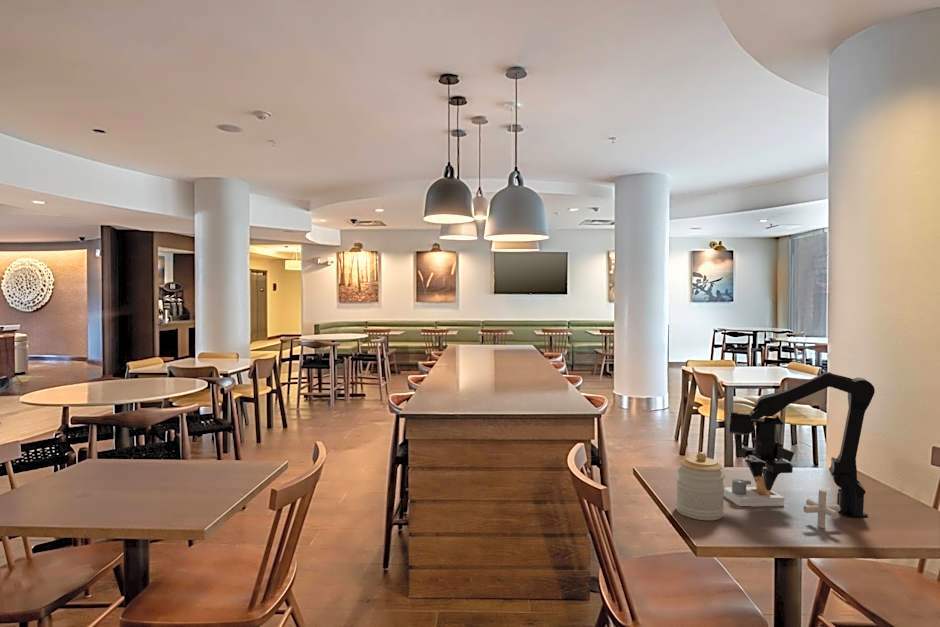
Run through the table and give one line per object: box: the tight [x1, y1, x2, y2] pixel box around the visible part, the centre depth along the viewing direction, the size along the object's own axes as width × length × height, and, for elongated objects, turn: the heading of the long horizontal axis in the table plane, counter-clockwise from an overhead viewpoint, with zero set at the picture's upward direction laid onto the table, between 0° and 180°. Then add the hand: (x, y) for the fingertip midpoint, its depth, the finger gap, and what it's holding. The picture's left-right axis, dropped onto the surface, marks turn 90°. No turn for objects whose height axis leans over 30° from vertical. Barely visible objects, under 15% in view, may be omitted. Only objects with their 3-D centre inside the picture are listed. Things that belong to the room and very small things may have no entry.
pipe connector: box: [802, 489, 840, 529], centre depth 165 cm, size 10×10×10 cm
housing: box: [724, 478, 785, 507], centre depth 185 cm, size 10×14×6 cm
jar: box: [675, 451, 726, 521], centre depth 173 cm, size 13×13×18 cm
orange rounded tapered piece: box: [754, 475, 772, 495], centre depth 185 cm, size 4×5×6 cm
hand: (763, 487), depth 185 cm, fingers open, 5 cm apart
